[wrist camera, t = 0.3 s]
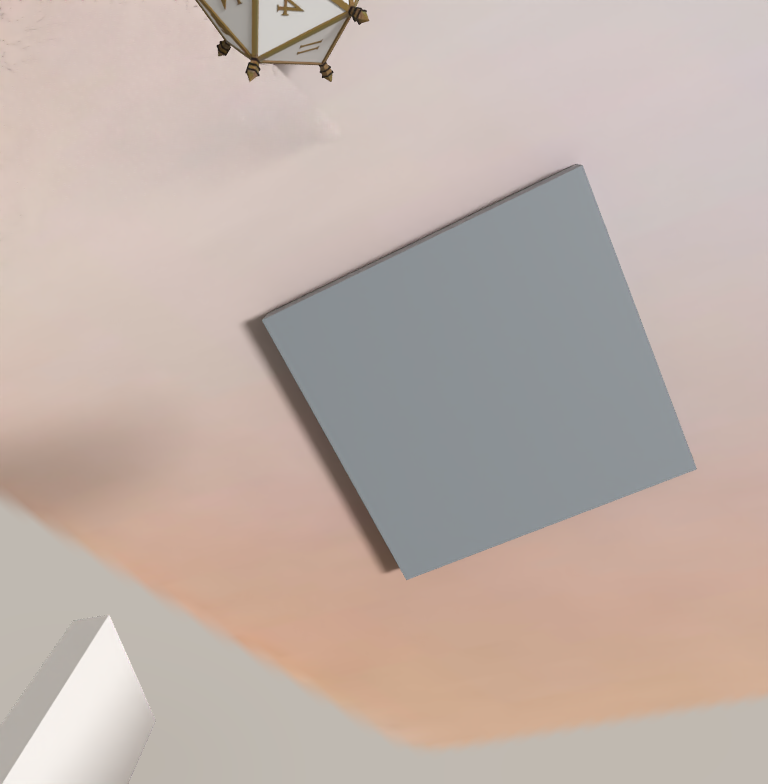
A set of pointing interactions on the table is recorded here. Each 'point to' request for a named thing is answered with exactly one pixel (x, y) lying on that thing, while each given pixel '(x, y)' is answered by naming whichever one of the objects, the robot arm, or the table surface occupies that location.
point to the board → (486, 377)
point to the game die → (282, 29)
